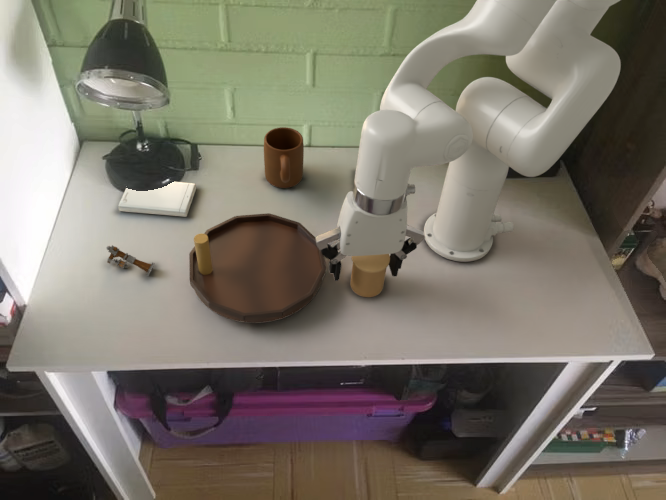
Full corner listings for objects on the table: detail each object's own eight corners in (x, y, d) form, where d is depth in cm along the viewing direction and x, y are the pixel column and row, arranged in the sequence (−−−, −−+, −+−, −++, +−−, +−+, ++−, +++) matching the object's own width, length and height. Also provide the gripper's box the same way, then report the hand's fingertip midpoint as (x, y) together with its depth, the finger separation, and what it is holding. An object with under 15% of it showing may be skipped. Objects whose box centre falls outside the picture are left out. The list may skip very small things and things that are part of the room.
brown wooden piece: (105, 254, 101) (110, 240, 98) (149, 275, 103) (155, 262, 100) (100, 262, 100) (105, 248, 97) (144, 283, 102) (150, 270, 98)
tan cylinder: (380, 269, 104) (385, 241, 99) (388, 296, 100) (394, 269, 95) (345, 272, 103) (348, 244, 98) (352, 300, 99) (355, 273, 94)
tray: (313, 218, 109) (315, 183, 103) (333, 315, 94) (336, 280, 88) (190, 228, 105) (184, 192, 99) (191, 329, 91) (184, 295, 85)
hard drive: (117, 205, 109) (185, 211, 108) (131, 176, 114) (195, 181, 114) (119, 212, 110) (186, 217, 110) (132, 183, 115) (196, 188, 115)
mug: (305, 204, 114) (307, 166, 107) (265, 205, 113) (264, 166, 106) (301, 164, 122) (302, 126, 115) (264, 165, 121) (262, 126, 114)
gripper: (429, 174, 90) (408, 252, 102) (315, 178, 87) (308, 259, 99) (443, 207, 85) (420, 285, 97) (323, 213, 82) (315, 293, 94)
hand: (364, 272), depth 98 cm, fingers open, 9 cm apart
